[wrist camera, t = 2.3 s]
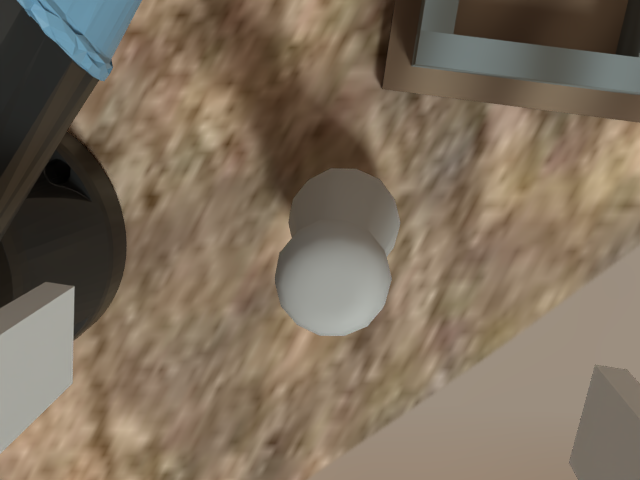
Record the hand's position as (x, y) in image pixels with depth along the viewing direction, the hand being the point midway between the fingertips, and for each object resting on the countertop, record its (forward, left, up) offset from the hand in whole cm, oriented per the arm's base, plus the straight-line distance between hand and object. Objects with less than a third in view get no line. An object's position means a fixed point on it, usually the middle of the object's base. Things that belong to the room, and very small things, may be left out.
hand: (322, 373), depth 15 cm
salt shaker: (0, 0, -19) cm, 19 cm away
